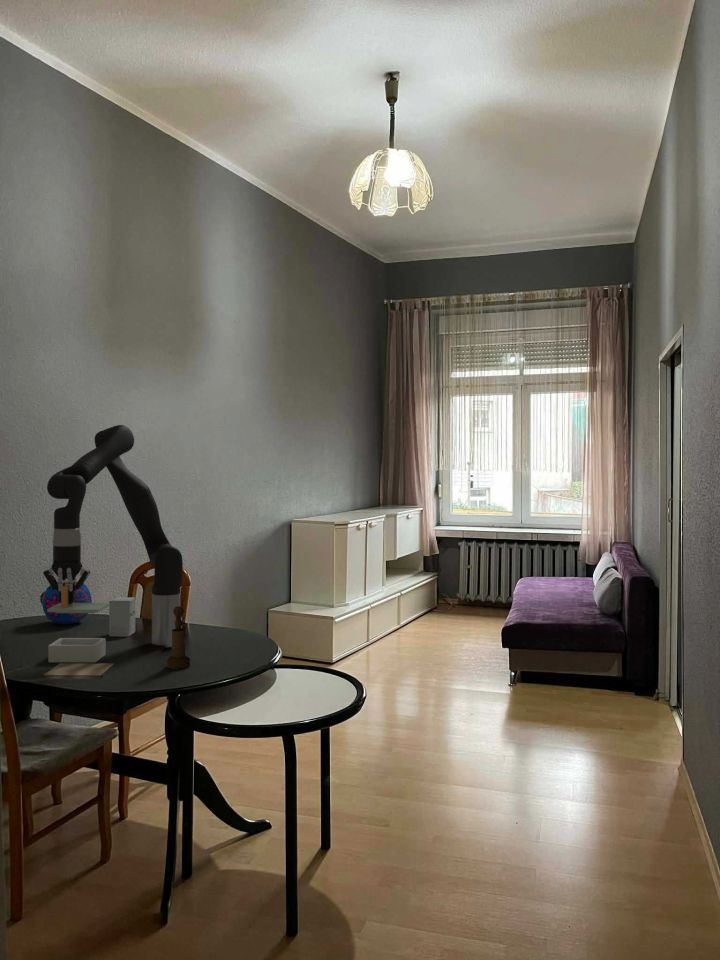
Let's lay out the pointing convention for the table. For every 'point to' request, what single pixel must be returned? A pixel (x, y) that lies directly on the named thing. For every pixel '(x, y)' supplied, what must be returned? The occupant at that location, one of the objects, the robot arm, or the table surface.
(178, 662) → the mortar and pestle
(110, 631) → the supplement box
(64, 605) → the lid
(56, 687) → the table surface
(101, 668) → the board
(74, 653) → the tub
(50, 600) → the ceramic pot
